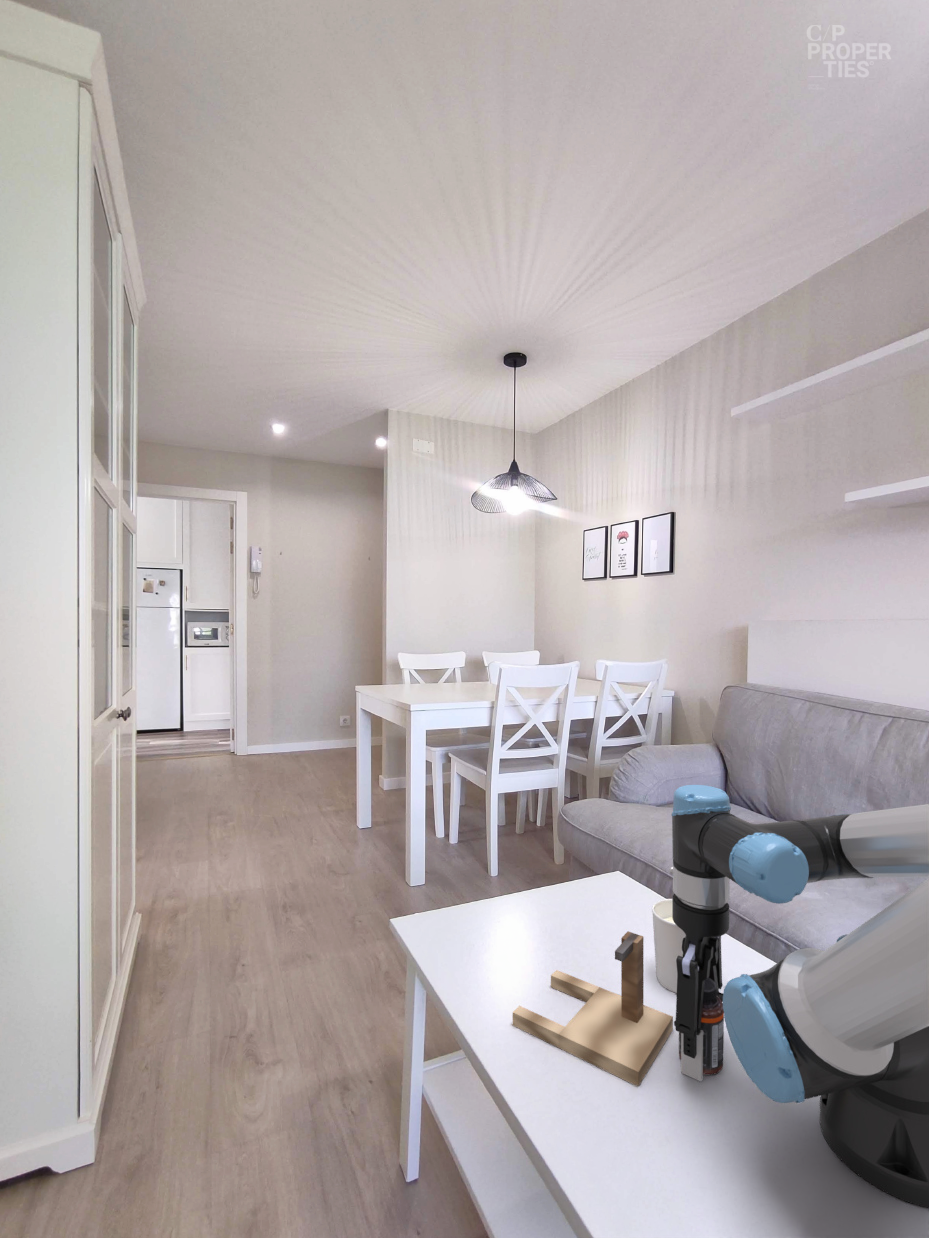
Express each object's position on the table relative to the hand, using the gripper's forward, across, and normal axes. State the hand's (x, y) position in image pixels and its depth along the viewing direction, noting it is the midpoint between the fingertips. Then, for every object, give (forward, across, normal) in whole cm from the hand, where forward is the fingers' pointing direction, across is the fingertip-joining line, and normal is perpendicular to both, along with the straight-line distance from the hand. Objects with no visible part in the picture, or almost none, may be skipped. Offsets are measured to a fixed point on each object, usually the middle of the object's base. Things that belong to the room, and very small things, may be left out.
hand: (699, 1058), depth 85 cm
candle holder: (+1, -17, -8) cm, 19 cm away
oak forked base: (0, +3, -15) cm, 15 cm away
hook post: (-2, +1, -10) cm, 10 cm away
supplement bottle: (0, 0, 0) cm, 0 cm away
